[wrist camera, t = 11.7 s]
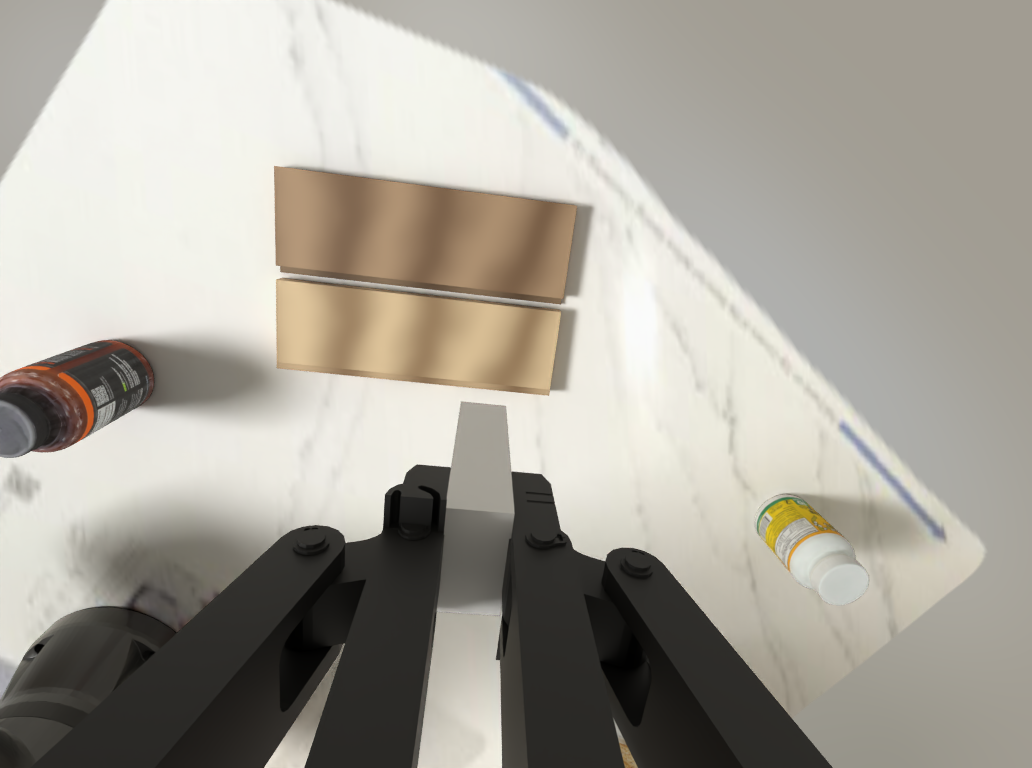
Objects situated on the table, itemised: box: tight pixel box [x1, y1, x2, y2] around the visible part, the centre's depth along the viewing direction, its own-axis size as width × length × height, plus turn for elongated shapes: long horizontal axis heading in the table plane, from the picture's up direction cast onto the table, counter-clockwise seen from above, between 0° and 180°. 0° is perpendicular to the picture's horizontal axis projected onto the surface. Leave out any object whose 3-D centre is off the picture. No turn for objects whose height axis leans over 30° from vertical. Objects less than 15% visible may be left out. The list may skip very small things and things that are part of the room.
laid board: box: [274, 166, 577, 304], centre depth 40 cm, size 22×8×1 cm, turn 83°
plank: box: [276, 278, 561, 396], centre depth 43 cm, size 22×7×1 cm, turn 83°
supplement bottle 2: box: [755, 494, 869, 605], centre depth 46 cm, size 5×5×10 cm
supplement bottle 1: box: [0, 340, 154, 458], centre depth 38 cm, size 6×6×11 cm
